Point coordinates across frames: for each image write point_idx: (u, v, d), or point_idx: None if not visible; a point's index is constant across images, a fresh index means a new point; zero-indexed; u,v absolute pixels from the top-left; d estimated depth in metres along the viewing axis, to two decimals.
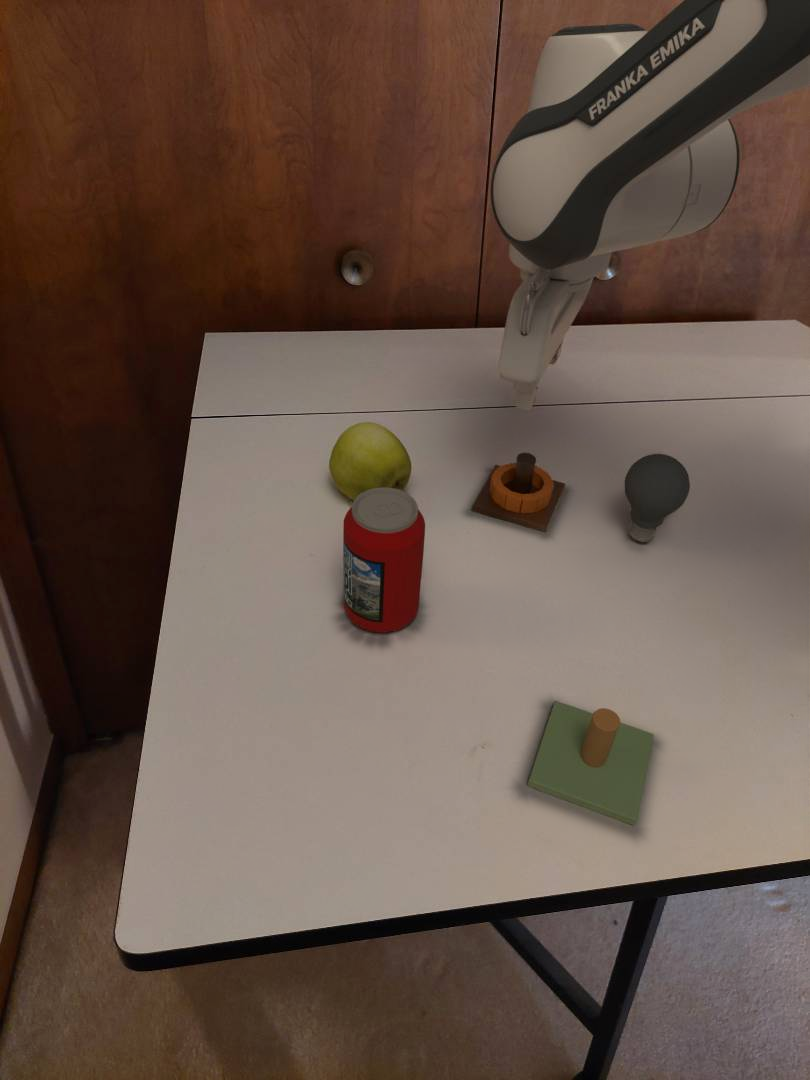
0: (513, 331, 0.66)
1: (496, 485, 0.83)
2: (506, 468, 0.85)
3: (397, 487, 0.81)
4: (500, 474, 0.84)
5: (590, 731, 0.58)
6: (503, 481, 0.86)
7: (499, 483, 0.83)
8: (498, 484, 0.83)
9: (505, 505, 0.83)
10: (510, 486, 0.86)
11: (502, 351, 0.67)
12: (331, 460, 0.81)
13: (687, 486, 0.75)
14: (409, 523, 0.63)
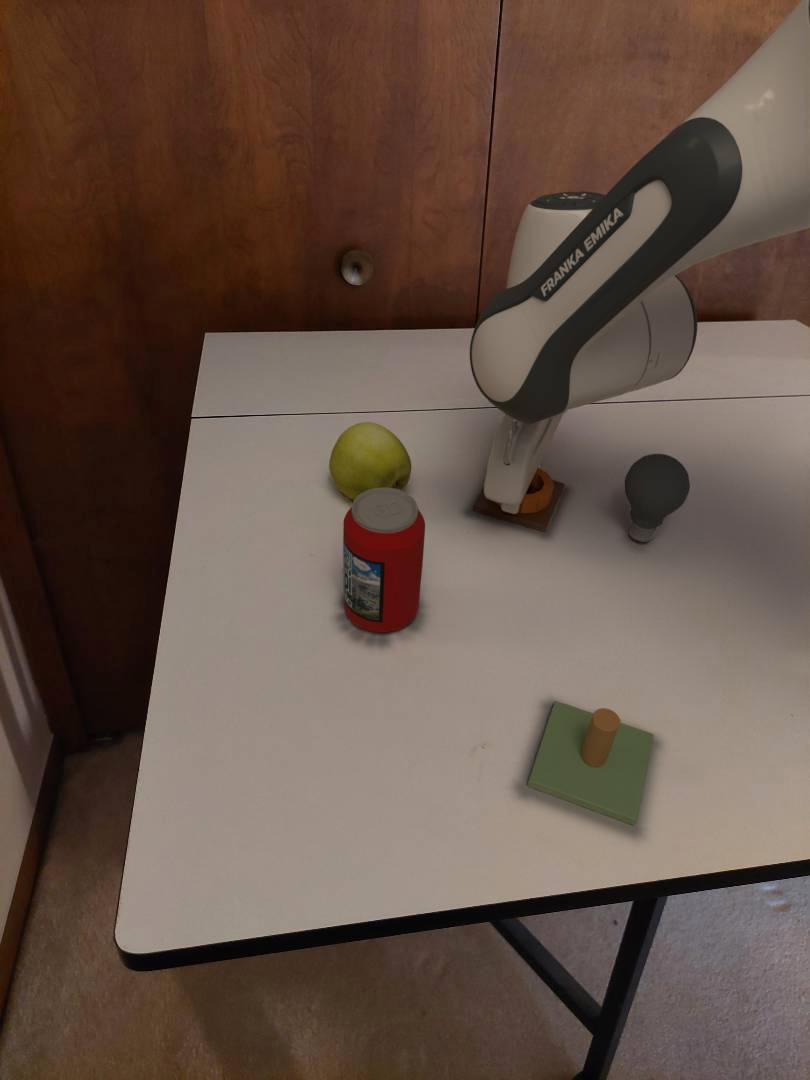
0: (496, 460, 0.71)
1: None
2: None
3: (397, 487, 0.81)
4: None
5: (590, 731, 0.58)
6: None
7: None
8: None
9: None
10: None
11: (487, 476, 0.73)
12: (331, 460, 0.81)
13: (687, 486, 0.75)
14: (409, 523, 0.63)
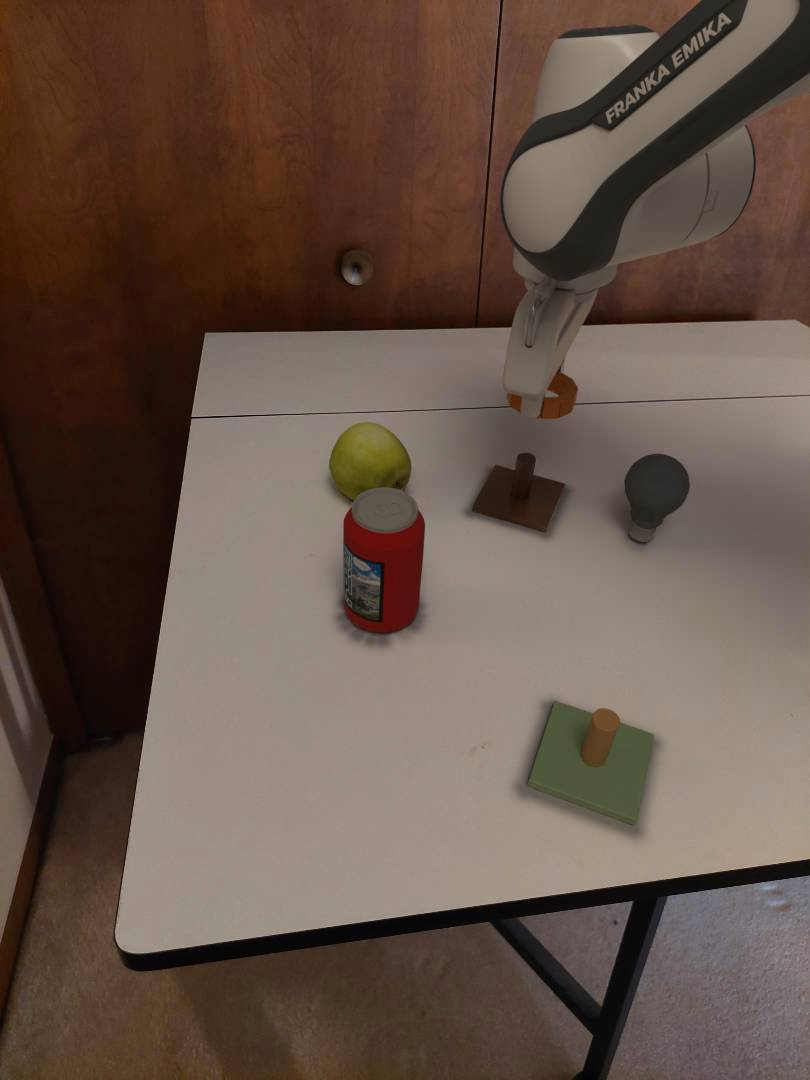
0: (517, 343, 0.64)
1: None
2: None
3: (397, 487, 0.81)
4: None
5: (590, 731, 0.58)
6: None
7: None
8: None
9: None
10: (510, 486, 0.86)
11: (506, 363, 0.65)
12: (331, 460, 0.81)
13: (687, 486, 0.75)
14: (409, 523, 0.63)
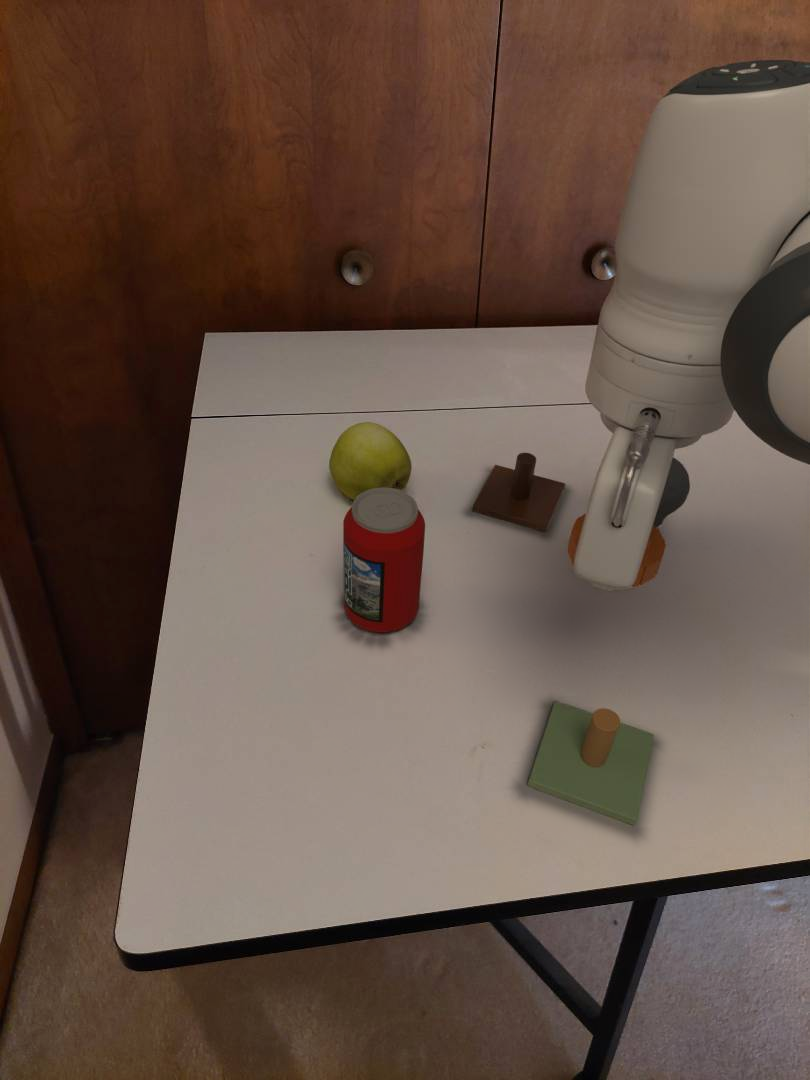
0: (599, 520, 0.44)
1: None
2: None
3: (397, 487, 0.81)
4: None
5: (590, 731, 0.58)
6: None
7: None
8: None
9: None
10: (510, 486, 0.86)
11: (581, 544, 0.45)
12: (331, 460, 0.81)
13: (687, 486, 0.75)
14: (409, 523, 0.63)
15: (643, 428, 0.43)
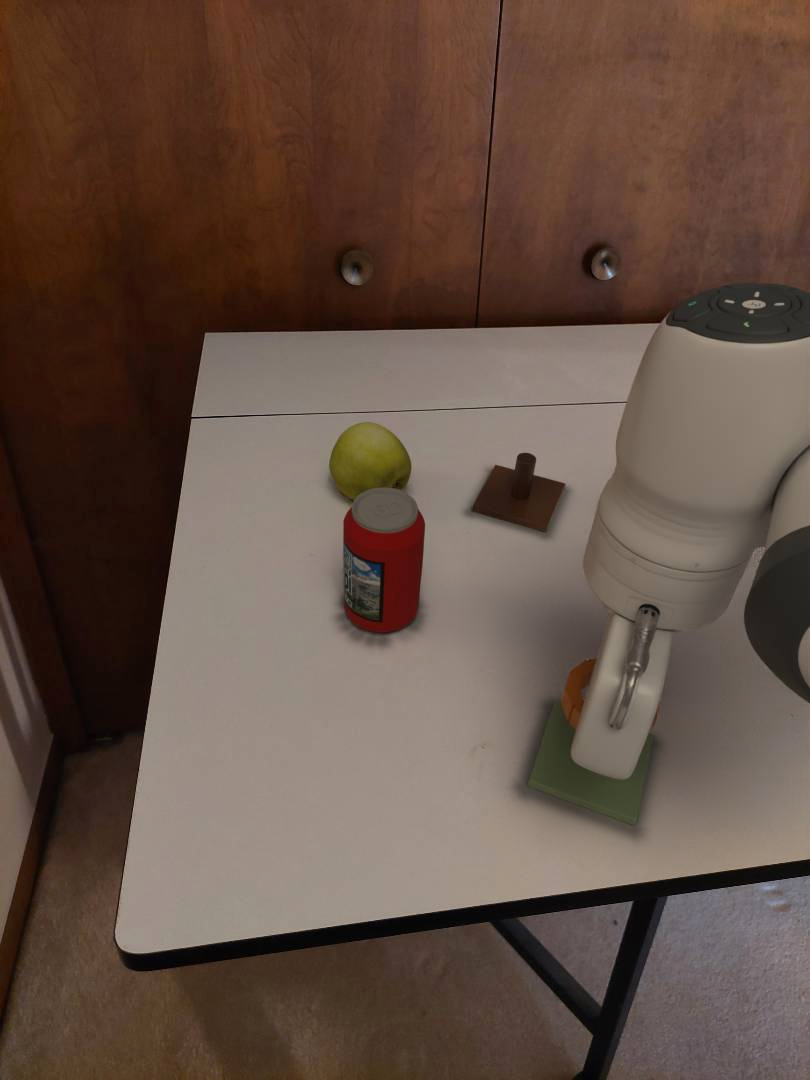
0: (598, 720, 0.43)
1: (575, 702, 0.55)
2: (586, 669, 0.57)
3: (397, 487, 0.81)
4: (579, 681, 0.56)
5: None
6: (581, 687, 0.58)
7: (579, 699, 0.55)
8: (577, 701, 0.55)
9: None
10: (510, 486, 0.86)
11: (579, 739, 0.45)
12: (331, 460, 0.81)
13: None
14: (409, 523, 0.63)
15: (643, 631, 0.43)
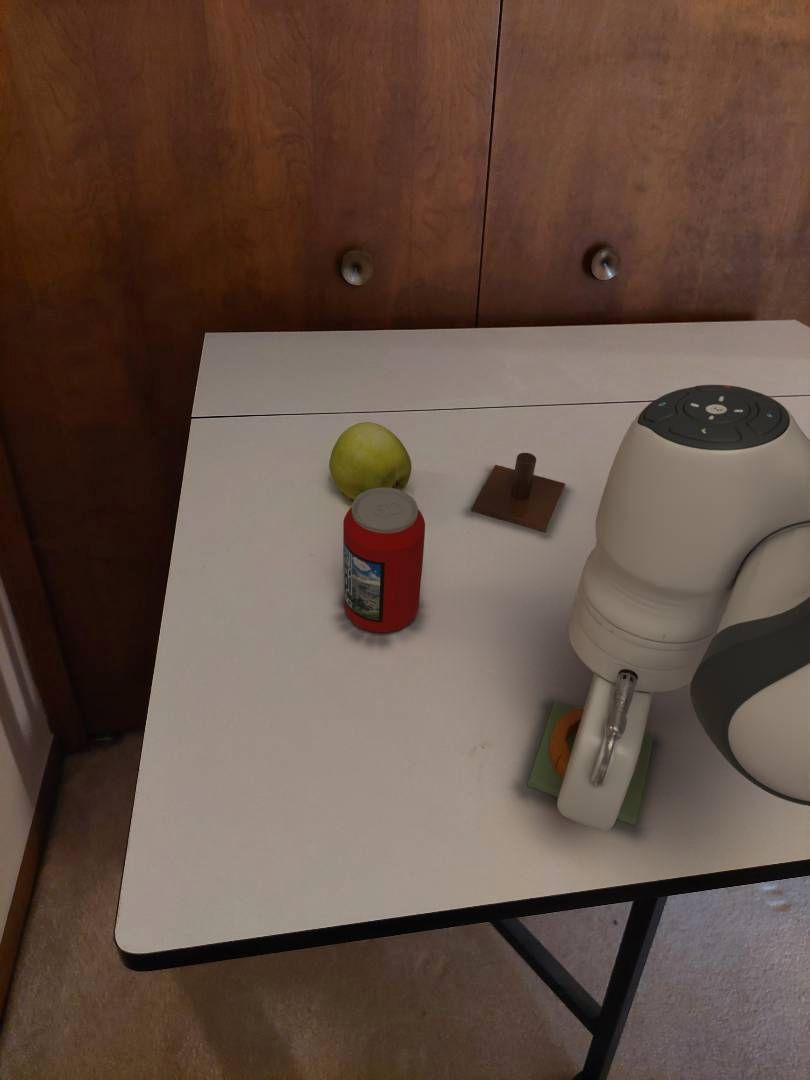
0: (581, 777, 0.47)
1: (561, 753, 0.59)
2: (571, 719, 0.61)
3: (397, 487, 0.81)
4: (564, 732, 0.60)
5: None
6: (567, 736, 0.62)
7: (564, 749, 0.59)
8: (563, 751, 0.59)
9: None
10: (510, 486, 0.86)
11: (564, 793, 0.49)
12: (331, 460, 0.81)
13: None
14: (409, 523, 0.63)
15: (621, 696, 0.47)
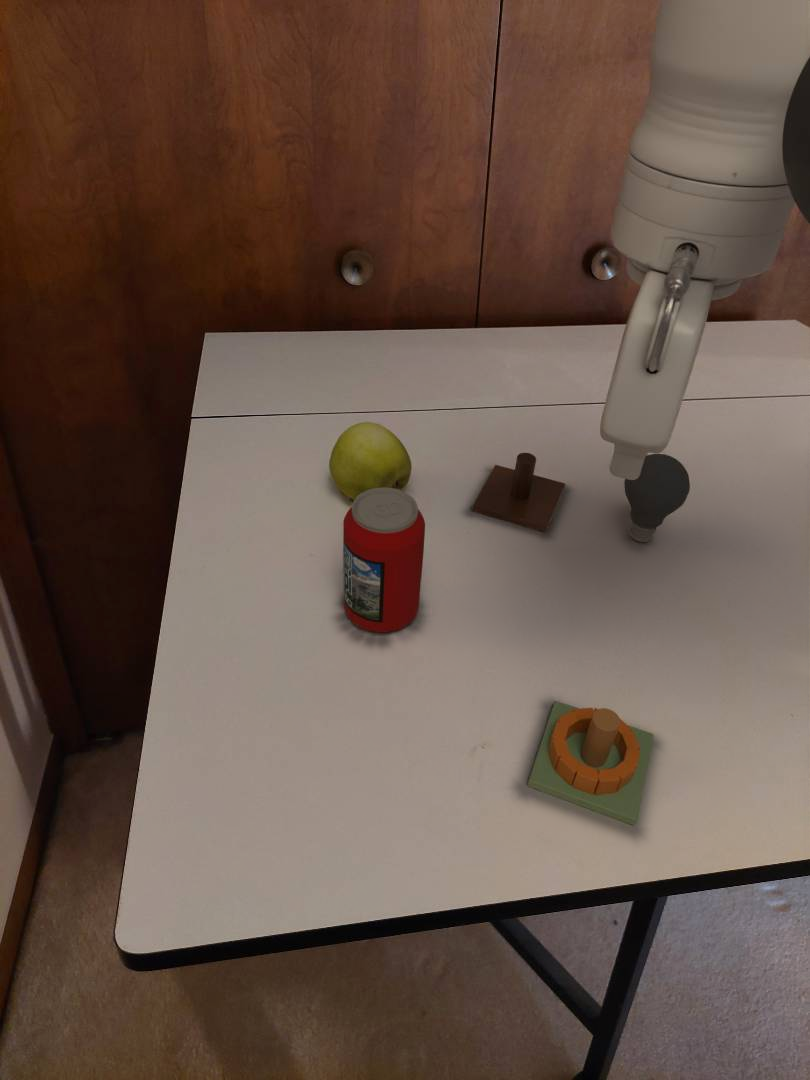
0: (632, 366, 0.39)
1: (561, 753, 0.59)
2: (571, 719, 0.61)
3: (397, 487, 0.81)
4: (564, 732, 0.60)
5: (590, 731, 0.58)
6: (567, 736, 0.62)
7: (564, 749, 0.59)
8: (563, 751, 0.59)
9: (573, 783, 0.58)
10: (510, 486, 0.86)
11: (611, 398, 0.40)
12: (331, 460, 0.81)
13: (687, 486, 0.75)
14: (409, 523, 0.63)
15: (682, 260, 0.38)
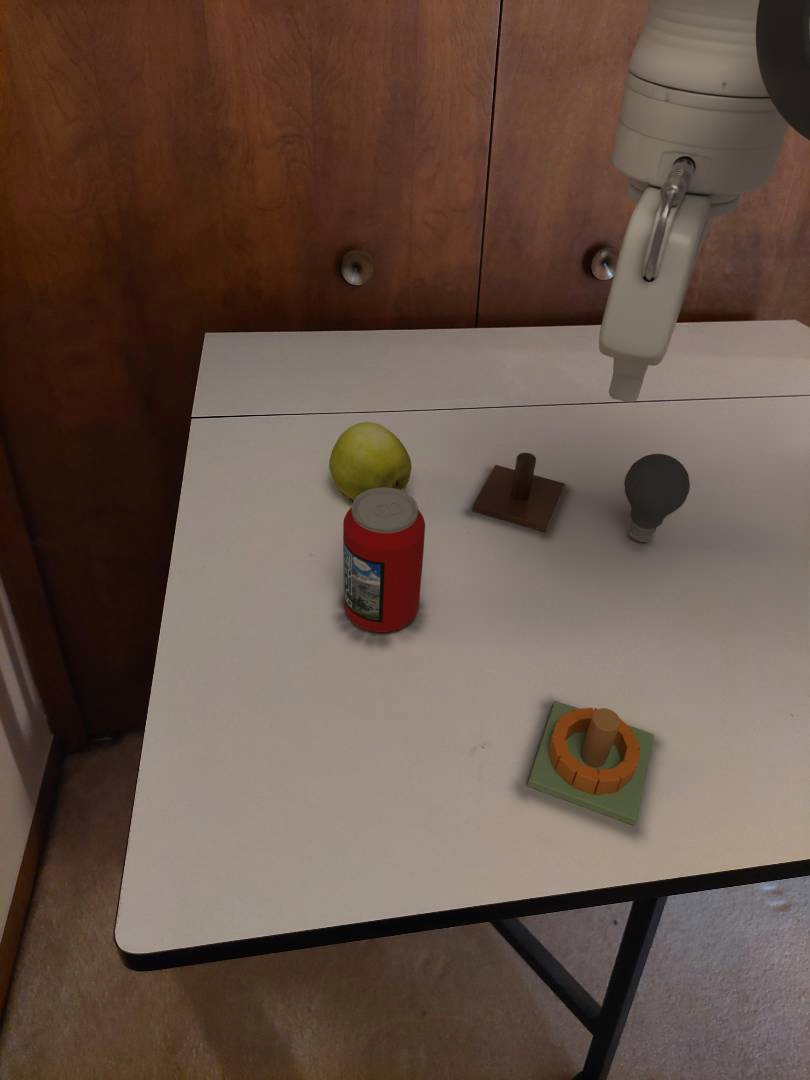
0: (630, 275, 0.40)
1: (561, 753, 0.59)
2: (571, 719, 0.61)
3: (397, 487, 0.81)
4: (564, 732, 0.60)
5: (590, 731, 0.58)
6: (567, 736, 0.62)
7: (564, 749, 0.59)
8: (563, 751, 0.59)
9: (573, 783, 0.58)
10: (510, 486, 0.86)
11: (609, 308, 0.42)
12: (331, 460, 0.81)
13: (687, 486, 0.75)
14: (409, 523, 0.63)
15: (678, 170, 0.40)
